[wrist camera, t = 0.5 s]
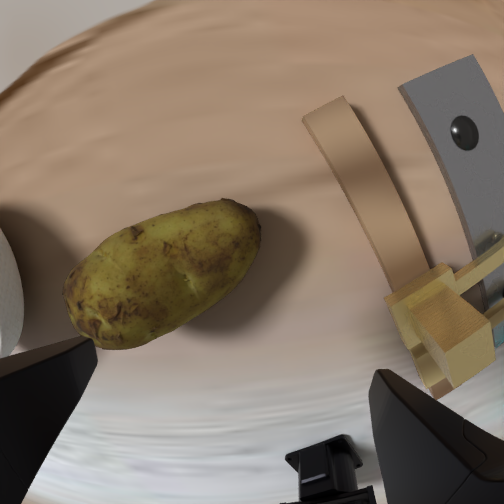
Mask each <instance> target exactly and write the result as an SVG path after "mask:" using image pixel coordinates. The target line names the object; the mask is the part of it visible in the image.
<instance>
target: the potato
mask: <svg viewBox="0 0 504 504" xmlns="http://www.w3.org/2000/svg"><path fill="white" fill-rule="evenodd" d="M260 231H261V226H260V225H259V223H258V218H257V216H256V214H255V213H254V212H253V211H252V210H251V209H250V208H248V207H247V206H245V205H242V204H240V203H237V202H235V201H234V200H231V199H225V198H221V200H218V201H210V202H206V203H197V204H194V205H191V206H189V207H188V208H184V209H181V210H177V211H173V212H170V213H166V214H161V215H159V216H157V217H154V218H151V219H148V220H145V221H143V222H140V223H138V224H135V225H133V226H130V227H127V228H124V229H122V230H121V231H119V232H117V233H115V234H113V235H111V236H110V237H108V238H107V239H106V240H104V241H103V242H102V243H101V244H100V245H99V246H98V247H97V248H96V249H95V250H94V251H93V252H92V253H91V254H90V255H89V256H88V257H86V258H85V259H84V260H83V261H81V262H80V263H79V264H78V265H76V266H75V267H74V268H73V269H72V271H71V272H70V274H69V276H68V277H67V278H66V281H65V283H64V287H63V293H62V294H63V295H64V300H65V304H66V308H67V312H68V315H69V317H70V319H71V322H72V324H73V326H74V328H75V329H76V331H77V332H78V333H79V334H80V335H81V336H85V337H89V338H92V339H93V341H94V344H95V346H97V347H99V348H102V349H106V350H124V349H131V348H136V347H139V346H142V345H144V344H146V343H148V342H150V341H152V340H154V339H156V338H158V337H160V336H162V335H164V334H167V333H169V332H172V331H174V330H175V329H177V328H178V327H180V326H182V325H183V324H185V323H187V322H188V321H190V320H191V319H193V318H195V317H196V316H198V315H199V314H201V313H203V312H204V311H206V310H207V309H209V308H210V307H212V306H213V305H214V304H215V303H217V302H218V301H220V300H221V299H222V298H224V297H225V296H226V295H227V294H229V293H230V292H231V291H232V290H233V289H234V288H235V287H236V286H237V285H238V284H239V283H240V282H241V280H242V279H243V278H244V276H245V274H246V273H247V271H248V269H249V267H250V266H251V264H252V262H253V260H254V259H255V257H256V254H257V252H258V250H259V247H260V241H261V233H260Z"/></svg>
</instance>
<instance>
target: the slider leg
mask: <svg viewBox="0 0 504 504" xmlns="http://www.w3.org/2000/svg"><path fill="white" fill-rule="evenodd" d="M503 263H504V235H503V236H502V238H501V240H500V241H499V242H498V243H496V244H495V245H494V246H492V247H491V248H490V249H488V250H487V251H486V252H484V253H483V254H482V255H480V256H479V257H477V258H476V259H475V260H473V261H472V262H470V263H469V264H468V265H466V266H465V267H463V268H462V269H460V270H459V271H457V272H456V273H455V274H453V271H452V268H450V267H449V266H447V265H445V264H444V263H440V264H438V265H437V266H435V267H434V268H432V269H431V270H429V271H428V272H426V273H424V274H423V275H421V276H420V277H418V278H416V279H415V280H413V281H412V282H410V283H408V284H407V285H405V286H403V287H402V288H400V289H398V290H397V291H395V292H393V293H392V294H390V295H388V296H386V297H385V298H384V299H385V302H386V304H387V306H388V308H389V311H390V313H391V315H392V318H393V320H394V322H395V325H396V327H397V330H398V332H399V334H400V337H401V339H402V341H403V343H404V344H405V346H406V347H407V349H408V350H409V349H411V348H413V347H414V346H416V345H418V344H419V343H421V342H422V344H423V345H424V346H425V348H426V349H427V351H428V352H429V353H430V355H431V356H432V358H433V359H434V360H435V362H436V363H437V365H438V366H439V368H440V369H441V371H442V372H443V373H444V375H445V376H446V378H447V379H448V381H449V382H450V384H451V385H452V387H453V388H454V389H455V388H456V387H458V386H459V385H461V384H462V383H464V382H465V381H467V380H468V379H470V378H471V377H473V376H474V375H476V374H477V373H478V372H480V371H481V370H483V369H484V368H485V367H487V366H488V365H490V364H491V363H492V362H494V361H495V360H496V359H495V350H494V343H493V336H492V329H491V323H490V321H489V320H488V319H487V318H486V317H485V316H483V315H482V314H481V313H480V312H479V311H477V310H476V309H475V308H474V307H473V306H471V305H470V304H469V303H468V302H467V301H465V300H464V299H463V298H462V297H460V295H461V294H462V293H463V292H465V291H466V290H468V289H469V288H471V287H472V286H473V285H475V284H476V283H478V282H479V281H480V280H482V279H483V278H484V277H486V276H487V275H488V274H490V273H491V272H492V271H494V270H495V269H496V268H497V267H499V266H500V265H501V264H503Z"/></svg>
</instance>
